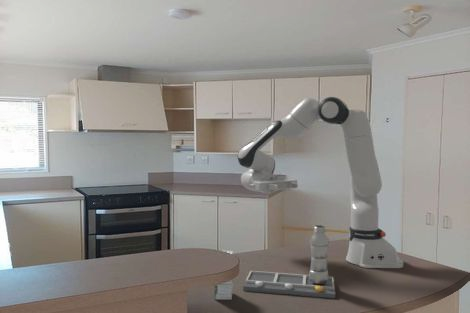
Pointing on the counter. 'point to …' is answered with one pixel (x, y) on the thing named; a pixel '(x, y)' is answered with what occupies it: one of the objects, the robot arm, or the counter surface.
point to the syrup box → (224, 289)
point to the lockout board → (288, 284)
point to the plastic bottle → (319, 256)
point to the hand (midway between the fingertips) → (287, 186)
